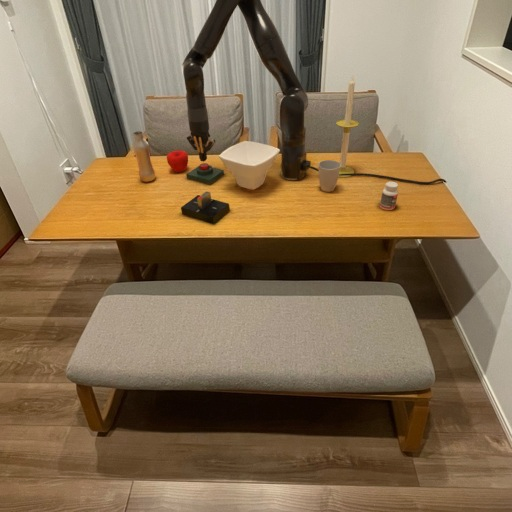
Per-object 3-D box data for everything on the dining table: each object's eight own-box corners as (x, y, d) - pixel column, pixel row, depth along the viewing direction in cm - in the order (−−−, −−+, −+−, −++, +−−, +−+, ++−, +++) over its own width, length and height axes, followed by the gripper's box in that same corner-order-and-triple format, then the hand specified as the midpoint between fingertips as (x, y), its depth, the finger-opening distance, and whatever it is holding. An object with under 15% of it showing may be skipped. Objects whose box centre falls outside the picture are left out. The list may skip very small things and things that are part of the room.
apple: (173, 176, 163) (169, 159, 158) (166, 169, 169) (163, 152, 164) (193, 171, 166) (190, 154, 161) (185, 164, 172) (182, 147, 167)
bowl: (245, 170, 164) (243, 139, 156) (284, 181, 155) (284, 148, 147) (217, 188, 153) (213, 155, 144) (257, 202, 144) (256, 167, 135)
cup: (340, 185, 151) (343, 161, 145) (334, 195, 145) (337, 170, 139) (320, 182, 154) (322, 158, 148) (314, 191, 148) (315, 167, 142)
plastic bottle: (158, 176, 163) (148, 129, 151) (153, 183, 158) (142, 136, 146) (143, 176, 164) (132, 129, 152) (138, 183, 159) (126, 136, 146)
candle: (327, 167, 164) (335, 72, 141) (351, 166, 164) (363, 71, 141) (332, 178, 156) (341, 79, 133) (356, 176, 156) (370, 78, 133)
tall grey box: (207, 201, 139) (206, 190, 137) (211, 202, 139) (210, 192, 136) (198, 208, 136) (196, 197, 133) (202, 209, 135) (200, 199, 132)
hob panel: (229, 210, 140) (229, 203, 138) (213, 224, 133) (213, 216, 131) (198, 201, 145) (197, 194, 143) (182, 214, 139) (180, 207, 137)
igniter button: (210, 168, 160) (210, 164, 159) (205, 171, 157) (205, 167, 156) (203, 166, 161) (203, 162, 160) (198, 169, 159) (198, 165, 158)
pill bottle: (392, 212, 135) (397, 189, 129) (377, 208, 137) (381, 185, 132) (396, 205, 138) (401, 182, 133) (382, 201, 141) (386, 179, 135)
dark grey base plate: (224, 174, 162) (223, 166, 160) (210, 184, 156) (209, 175, 153) (201, 169, 167) (200, 160, 165) (186, 178, 161) (185, 170, 158)
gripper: (218, 117, 146) (222, 160, 157) (190, 112, 152) (196, 154, 162) (206, 123, 141) (211, 167, 152) (178, 118, 147) (184, 161, 157)
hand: (203, 160), depth 157 cm, fingers closed
